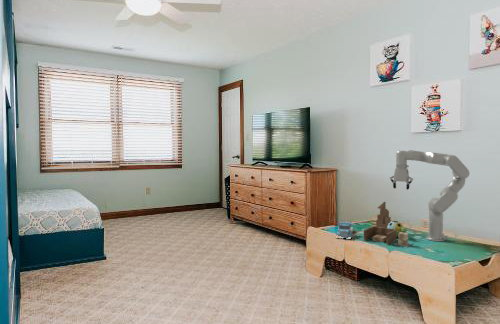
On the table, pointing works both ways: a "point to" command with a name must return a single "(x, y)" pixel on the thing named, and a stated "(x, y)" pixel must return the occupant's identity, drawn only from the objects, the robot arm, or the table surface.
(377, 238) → the slot stand
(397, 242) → the mat
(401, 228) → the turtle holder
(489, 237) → the table surface
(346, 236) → the truck
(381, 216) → the wooden toy
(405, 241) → the maple block
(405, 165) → the robot arm
